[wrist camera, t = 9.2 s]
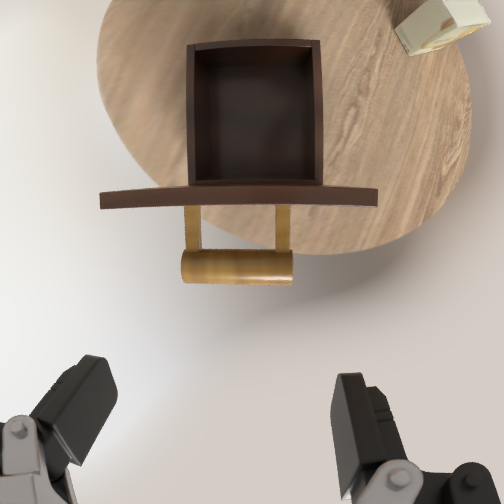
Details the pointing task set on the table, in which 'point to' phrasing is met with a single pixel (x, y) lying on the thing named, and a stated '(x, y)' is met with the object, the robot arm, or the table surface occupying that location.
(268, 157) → the chest
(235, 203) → the lid
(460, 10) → the cosmetic box
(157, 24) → the table surface
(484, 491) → the robot arm
